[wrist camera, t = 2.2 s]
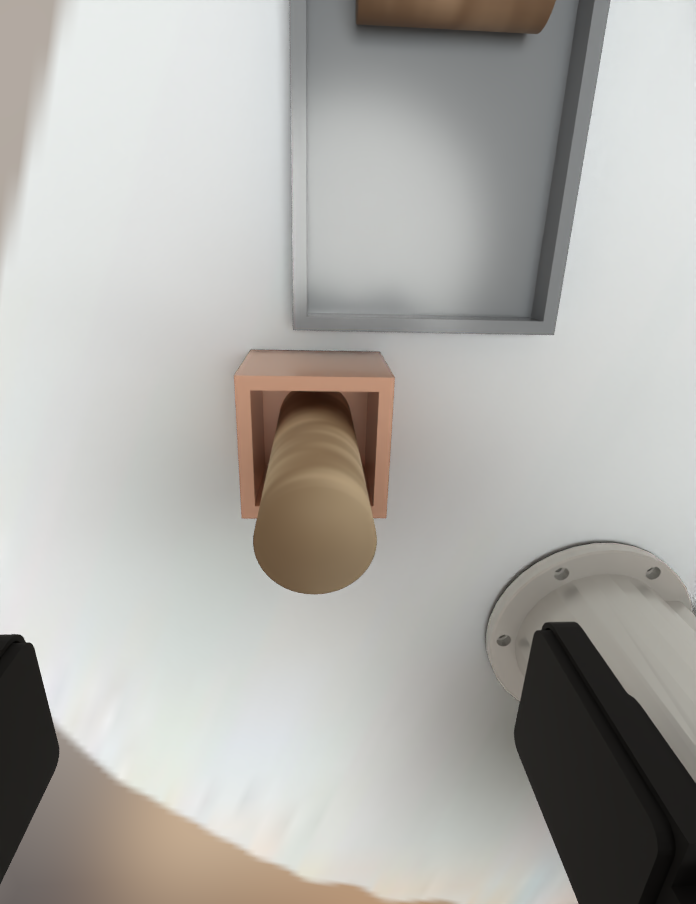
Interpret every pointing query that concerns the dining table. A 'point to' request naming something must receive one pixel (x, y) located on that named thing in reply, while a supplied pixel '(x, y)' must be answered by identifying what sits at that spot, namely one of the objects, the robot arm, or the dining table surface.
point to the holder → (298, 370)
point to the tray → (436, 169)
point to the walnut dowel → (458, 14)
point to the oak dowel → (315, 498)
